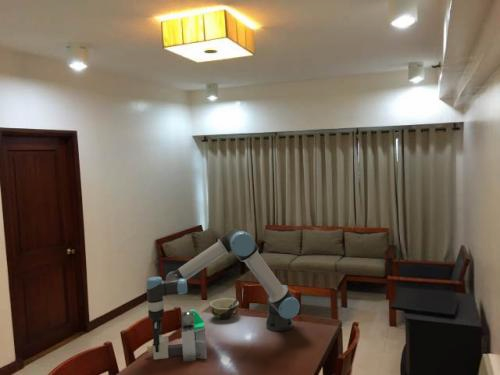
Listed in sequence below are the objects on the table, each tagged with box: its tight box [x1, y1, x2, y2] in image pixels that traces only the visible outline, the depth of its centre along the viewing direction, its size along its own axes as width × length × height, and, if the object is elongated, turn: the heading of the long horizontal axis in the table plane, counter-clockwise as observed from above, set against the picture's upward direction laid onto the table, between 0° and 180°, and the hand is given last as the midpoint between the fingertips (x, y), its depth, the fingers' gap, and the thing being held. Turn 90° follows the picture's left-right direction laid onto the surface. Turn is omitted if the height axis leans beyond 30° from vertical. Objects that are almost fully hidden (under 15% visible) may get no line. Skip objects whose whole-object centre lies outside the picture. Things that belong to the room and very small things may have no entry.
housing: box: [180, 310, 208, 362], centre depth 210 cm, size 11×19×20 cm, turn 8°
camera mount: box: [189, 308, 205, 331], centre depth 240 cm, size 12×8×10 cm, turn 98°
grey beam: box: [146, 335, 205, 360], centre depth 209 cm, size 28×7×8 cm, turn 98°
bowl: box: [209, 297, 240, 320], centre depth 255 cm, size 18×18×10 cm
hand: (158, 352), depth 208 cm, fingers open, 11 cm apart
